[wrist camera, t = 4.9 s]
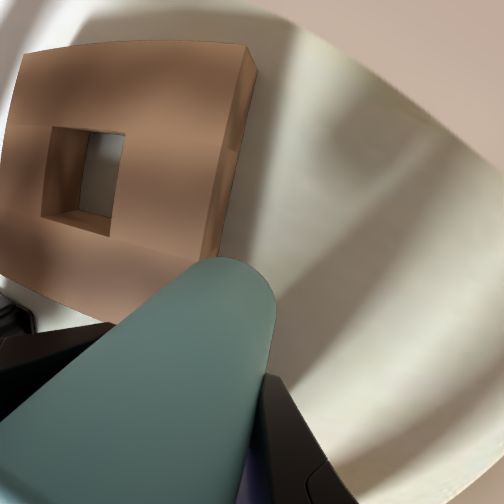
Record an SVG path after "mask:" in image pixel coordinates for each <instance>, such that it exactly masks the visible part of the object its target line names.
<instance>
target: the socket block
mask: <svg viewBox="0 0 504 504" xmlns="http://www.w3.org/2000/svg"><path fill="white" fill-rule="evenodd" d="M257 72H258V70H257V68H256V66H255V63H254V61H253V59H252V57H251V55H250V53H249V50H248V48H247V46H246V45H240V44H230V43H218V42H204V41H181V40H141V41H119V42H105V43H94V44H84V45H76V46H68V47H62V48H55V49H49V50H43V51H38V52H33V53H28V54H24V56H23V59H22V62H21V66H20V69H19V72H18V76H17V80H16V83H15V87H14V91H13V95H12V100H11V104H10V109H9V113H8V118H7V123H6V129H5V135H4V141H3V147H2V154H1V162H0V274H1V275H3V276H5V277H7V278H9V279H11V280H13V281H14V282H16V283H18V284H20V285H22V286H24V287H26V288H28V289H30V290H33V291H35V292H37V293H39V294H41V295H43V296H45V297H47V298H49V299H51V300H54V301H56V302H58V303H60V304H62V305H65V306H67V307H69V308H71V309H74V310H76V311H78V312H81V313H83V314H85V315H88V316H90V317H92V318H95V319H97V320H100V321H102V322H111V323H113V324H116V325H117V324H118V323H119V322H121V321H122V320H123V319H124V318H126V317H127V316H128V315H129V314H131V313H132V312H133V311H134V310H136V309H137V308H138V307H139V306H141V305H142V304H143V303H144V302H146V301H147V300H148V299H149V298H151V297H152V296H153V295H154V294H156V293H157V292H158V291H159V290H161V289H162V288H163V287H165V286H166V285H167V284H168V283H170V282H171V281H172V280H173V279H175V278H176V277H177V276H179V275H180V274H181V273H182V272H184V271H185V270H186V269H187V268H189V267H190V266H192V265H193V264H195V263H197V262H198V261H201V260H204V259H207V258H212V257H217V255H218V250H219V245H220V240H221V235H222V230H223V225H224V220H225V215H226V210H227V206H228V201H229V196H230V191H231V187H232V182H233V177H234V173H235V168H236V163H237V159H238V154H239V150H240V145H241V141H242V136H243V132H244V127H245V123H246V119H247V114H248V110H249V106H250V102H251V97H252V93H253V89H254V85H255V81H256V76H257ZM90 132H98V133H108V134H117V135H125V139H124V144H123V149H122V154H121V160H120V165H119V171H118V177H117V183H116V190H115V197H114V204H113V211H112V218H108V217H104V216H100V215H96V214H92V213H88V212H84V211H80V210H78V206H79V197H80V189H81V181H82V174H83V168H84V161H85V155H86V150H87V144H88V139H89V134H90Z"/></svg>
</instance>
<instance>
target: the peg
mask: <svg viewBox="0 0 504 504" xmlns="http://www.w3.org/2000/svg"><path fill="white" fill-rule="evenodd" d="M276 311H277V310H276V302H275V297H274V295H273V292H272V290H271V288H270V286H269V284H268V283H267V281H266V280H265V278H264V277H263V276H262V275H261V274H260V273H259V272H258V271H256V270H255V269H254V268H253V267H251V266H249V265H248V264H246V263H244V262H242V261H239V260H236V259H232V258H227V257H212V258H207V259H204V260H201V261H198V262H197V263H195V264H193V265H192V266H190V267H189V268H187V269H186V270H185V271H184V272H182V273H181V274H180V275H179V276H177V277H176V278H175V279H173V280H172V281H171V282H170V283H168V284H167V285H166V286H165V287H163V288H162V289H161V290H159V291H158V292H157V293H156V294H154V295H153V296H152V297H151V298H149V299H148V300H147V301H146V302H144V303H143V304H142V305H141V306H139V307H138V308H137V309H136V310H134V311H133V312H132V313H131V314H129V315H128V316H127V317H126V318H124V319H123V320H122V321H121V322H119V323H118V324H117V325H116V326H115V327H113V328H112V329H111V330H110V331H108V332H107V333H106V334H105V335H103V336H102V337H101V338H100V339H99V340H97V341H96V342H95V343H94V344H92V345H91V346H90V347H89V348H88V349H86V350H85V351H84V352H83V353H82V354H80V355H79V356H78V357H77V358H76V359H74V360H73V361H72V362H71V363H70V364H68V365H67V366H66V367H65V368H64V369H62V370H61V371H60V372H59V373H58V374H56V375H55V376H54V377H53V378H52V379H50V380H49V381H48V382H47V383H46V384H45V385H43V386H42V387H41V388H40V389H39V390H37V391H36V392H35V393H34V394H33V395H32V396H30V397H29V398H28V399H27V400H26V401H25V402H23V403H22V404H21V405H20V406H19V407H18V408H16V409H15V410H14V411H13V412H12V413H11V414H10V415H8V416H7V417H6V418H5V419H4V420H3V421H2V422H0V504H236V500H237V496H238V492H239V488H240V483H241V479H242V475H243V471H244V467H245V462H246V458H247V454H248V449H249V445H250V441H251V436H252V432H253V427H254V422H255V416H256V409H257V404H258V399H259V394H260V390H261V385H262V380H263V376H264V374H265V371H266V366H267V361H268V356H269V351H270V346H271V341H272V336H273V331H274V325H275V320H276Z"/></svg>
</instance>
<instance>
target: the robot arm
mask: <svg viewBox="0 0 504 504" xmlns="http://www.w3.org/2000/svg"><path fill="white" fill-rule="evenodd" d="M115 326H116V324H113V323H111V322H104V323H98V324H92V325H86V326H80V327H73V328H67V329H61V330H54V331H47V332H41V333H35V332H34V322H33V314H32V312H31V311H30V310H28V309H26V308H24V307H23V306H21V305H19V304H17V303H15V302H14V301H12V300H10V299H8V298H7V297H5V296H3V295H1V294H0V422H2V421H3V420H4V419H5V418H6V417H7V416H8V415H10V414H11V413H12V412H13V411H14V410H15V409H16V408H18V407H19V406H20V405H21V404H22V403H23V402H25V401H26V400H27V399H28V398H29V397H30V396H32V395H33V394H34V393H35V392H36V391H37V390H39V389H40V388H41V387H42V386H43V385H45V384H46V383H47V382H48V381H49V380H50V379H52V378H53V377H54V376H55V375H56V374H58V373H59V372H60V371H61V370H62V369H64V368H65V367H66V366H67V365H68V364H70V363H71V362H72V361H73V360H74V359H76V358H77V357H78V356H79V355H80V354H82V353H83V352H84V351H85V350H86V349H88V348H89V347H90V346H91V345H92V344H94V343H95V342H96V341H97V340H99V339H100V338H101V337H102V336H103V335H105V334H106V333H107V332H108V331H110V330H111V329H112V328H113V327H115ZM236 504H359V503H358V502H357V501H356V499H355V498H354V497H353V495H352V494H351V493H350V492H349V490H348V489H347V488H346V486H345V485H344V483H343V482H342V480H341V479H340V477H339V476H338V474H337V473H336V471H335V470H334V468H333V466H332V465H331V463H330V462H329V461H328V459H327V457H326V455H325V454H324V452H323V450H322V449H321V447H320V445H319V444H318V442H317V440H316V438H315V437H314V435H313V433H312V432H311V430H310V428H309V427H308V425H307V423H306V422H305V420H304V418H303V416H302V415H301V413H300V411H299V410H298V408H297V406H296V404H295V403H294V401H293V399H292V397H291V396H290V394H289V392H288V391H287V389H286V387H285V385H284V384H283V382H282V380H281V378H280V377H279V376H275V375H271V374H267V373H266V374H264V376H263V380H262V385H261V390H260V394H259V399H258V404H257V409H256V416H255V422H254V427H253V432H252V436H251V441H250V445H249V449H248V454H247V458H246V462H245V467H244V471H243V475H242V479H241V483H240V488H239V492H238V496H237V500H236Z"/></svg>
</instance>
